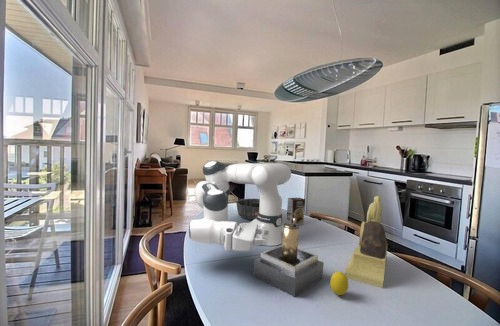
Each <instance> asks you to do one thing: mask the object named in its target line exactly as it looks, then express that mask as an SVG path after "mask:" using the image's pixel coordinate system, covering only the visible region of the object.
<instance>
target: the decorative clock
mask: <svg viewBox="0 0 500 326" xmlns="http://www.w3.org/2000/svg"><path fill="white" fill-rule="evenodd" d="M381 199H382V197H381V196H379V195H376V196H374V198H373V202H371V203H369V206H368V209H367V213H366V221H361V224H360V231H359V237H358V239H359V240H358V241H359V242H358V244H357V246H356V248H355V249H354V251H353V254H352V255H351V258H350V260H349V262H348V264H347V267H346V268H345V271H344V274H345V275H346V277H347V279H348V280H353V281H355V282H359V283H363V284H366V285H370V286H373V287H377V288H380V289H383V288H384V280H385V272H386V263H387V254H388V253H387V252H388V240H387V236H386V231H385V229H384V225H382V223H381V221H382V220H381V219H382V217H381V216H382V210H383V206H382V204H381V201H382V200H381Z"/></svg>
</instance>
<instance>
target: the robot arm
mask: <svg viewBox="0 0 500 326" xmlns="http://www.w3.org/2000/svg"><path fill="white" fill-rule="evenodd" d="M202 173H203V175H204V179H205V180H201V181H199V182H198V183H197V184H196V185H195V188H194V198H195V202H196V203H197V204H196V205H198V206H199V207H200V208H201V209H203V217H202V218H201V219H200V218H199V219H192V220H190V222H189V227H188V236H189V239H190V240H191V241H193V242H196V243H199V244H204V245H205V244H207V245H215V244H217V245H219V246H223V247H224V250H225V251H227V252H232V251H236V252H251V251H253V250H254V246H255V247H257V246H259V247H260V246H268V247H269V246H270V247H271V246H272V247H273V246H280V245H282V240H283V234H282V220H283V219H282V218H283V214H282V205H283V203H282V202H283V198H282V196H281V195H280V193H279V190H278V186H281V185H284V184H285V183H287V182H288V181H289V180H290V179H291V177H292V170H291V168H290V166H288V165H286V164H285V163H280V162H279V163H270V162H269V163H266V162H264V163H263V162H262V163H258V162H257V163H255V162H254V163H251V162H250V163H247V162H246V163H242V162H241V163H240V162H239V163H233V164H230V165H227V166H226V164H225V163H224V162H221V161H218V160H212V161H209V162H207V163H205V164H204V165H203V166H202ZM230 182H232V183H234V184H235V183H236V184H243V185H253V186H254V185H255V186H256V188H257V190H258V196H259V199H260V204H259V212H257V213H256V214H255V215H257V217H256V219H254V220H253V219H252V220H250V222H240V223H239V224H238V222H237V221H230V220H228V216H229V214H228V213H229V211H228V210H229V209H228V206H229V195H230V194H231V186H230V184H229V183H230Z"/></svg>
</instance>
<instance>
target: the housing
mask: <svg viewBox="0 0 500 326" xmlns="http://www.w3.org/2000/svg"><path fill="white" fill-rule="evenodd" d="M281 256H282V244H279V245H276V246H275V247H272V248H270V249H267V250H265V251H262V252H260V256H259V257H257V258H255V259H254V260H253V263H254V264H253V276H254V277H257V278H258V279H259V280H262V281H263V282H266V283H267V284H269V285H271V286H273V287H274V288H277V289H278V290H280V291H282V292H284V293H286V294H288V295H289V296H292V297H293V298H295V297H297V296H298V295H300V294H301V293H304V292H305V291H306V290H307V289H309V288H310V287H312V286H314V285H315V284H317V283H318V282H320V280H322V279H323V274H324V261H321V260H319V255H318V254H315V253H312V252H310V251H307V250H304V249H302V248H299V247H298V249H297V262H296V263H293V264H289V263H286V262H283V261H282V260H281Z"/></svg>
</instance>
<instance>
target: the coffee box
mask: <svg viewBox="0 0 500 326" xmlns="http://www.w3.org/2000/svg"><path fill="white" fill-rule="evenodd" d="M286 207H287V208H286V209H287V210H286V222H285V223H293V218H297V220H296V224H297V225H299V226H304V224H305V223H304V222H305V220H304V219H305V207H306V199H305V198H302V197H288V198H287V206H286Z"/></svg>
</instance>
